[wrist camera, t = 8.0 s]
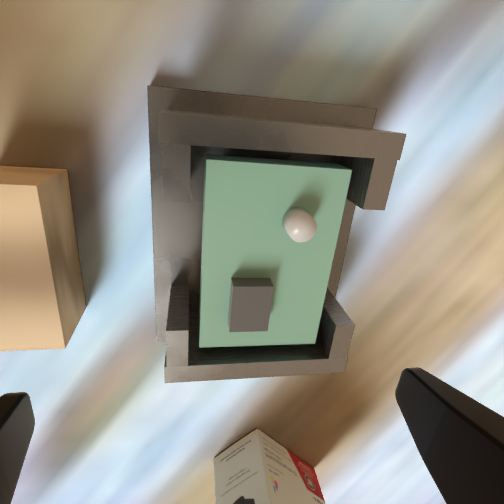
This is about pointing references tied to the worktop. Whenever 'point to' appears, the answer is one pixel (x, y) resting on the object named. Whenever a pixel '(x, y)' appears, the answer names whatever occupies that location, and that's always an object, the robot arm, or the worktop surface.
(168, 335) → the chassis
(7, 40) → the worktop surface
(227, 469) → the ink box
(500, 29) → the worktop surface
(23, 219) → the block
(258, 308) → the board
